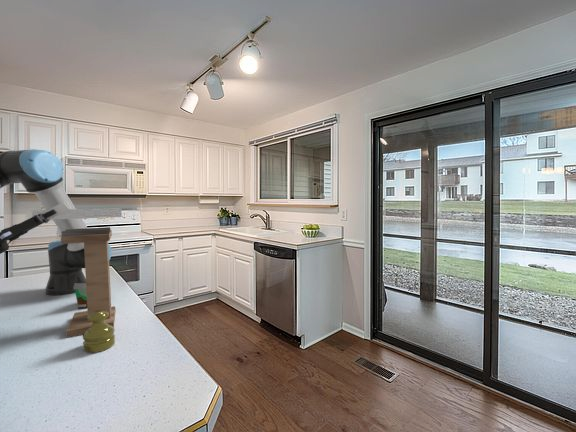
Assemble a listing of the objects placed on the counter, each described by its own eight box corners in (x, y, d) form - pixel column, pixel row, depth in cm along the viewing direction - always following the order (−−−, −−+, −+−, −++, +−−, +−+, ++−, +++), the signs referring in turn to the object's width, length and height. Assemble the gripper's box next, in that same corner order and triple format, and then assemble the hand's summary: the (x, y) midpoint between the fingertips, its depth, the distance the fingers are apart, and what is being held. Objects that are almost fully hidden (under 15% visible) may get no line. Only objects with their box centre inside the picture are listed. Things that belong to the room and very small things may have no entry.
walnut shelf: (75, 318, 100) (69, 227, 98) (115, 311, 106) (111, 225, 104) (66, 337, 86) (60, 232, 84) (113, 328, 92) (108, 229, 90)
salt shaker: (86, 343, 83) (85, 308, 82) (116, 338, 86) (115, 304, 85) (80, 356, 76) (78, 318, 76) (113, 349, 79) (111, 314, 79)
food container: (88, 311, 107) (87, 284, 106) (74, 310, 108) (73, 283, 107) (114, 299, 119) (113, 275, 118) (102, 298, 120) (100, 275, 119)
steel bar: (34, 219, 93) (34, 210, 92) (121, 216, 104) (121, 208, 104) (32, 220, 90) (31, 210, 90) (121, 216, 102) (121, 208, 101)
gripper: (4, 252, 94) (78, 214, 104) (-17, 262, 80) (71, 216, 89) (-13, 233, 92) (64, 195, 101) (-39, 239, 78) (54, 195, 87)
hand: (67, 205), depth 95 cm, fingers closed on steel bar, 3 cm apart
